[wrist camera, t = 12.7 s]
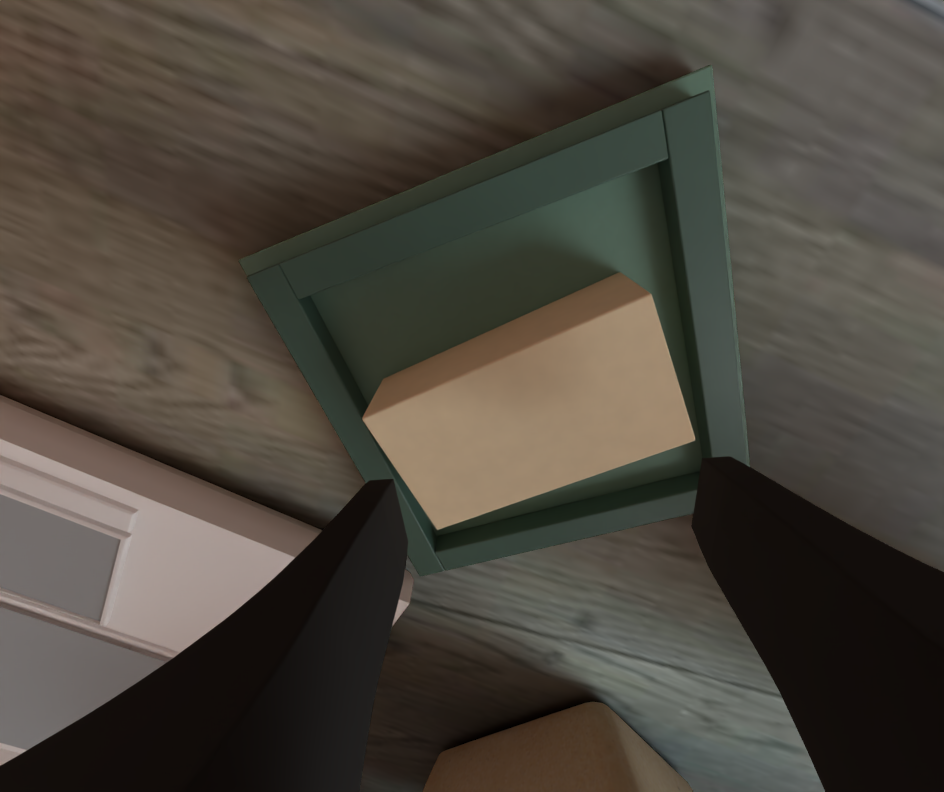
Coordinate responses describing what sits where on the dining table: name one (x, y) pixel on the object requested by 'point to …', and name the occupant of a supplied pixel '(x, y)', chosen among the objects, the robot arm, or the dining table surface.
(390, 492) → the robot arm
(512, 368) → the rectangular block
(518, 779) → the flower pot
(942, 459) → the dining table surface
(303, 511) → the dining table surface
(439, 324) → the green square tray
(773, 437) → the dining table surface
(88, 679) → the laptop
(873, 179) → the dining table surface
